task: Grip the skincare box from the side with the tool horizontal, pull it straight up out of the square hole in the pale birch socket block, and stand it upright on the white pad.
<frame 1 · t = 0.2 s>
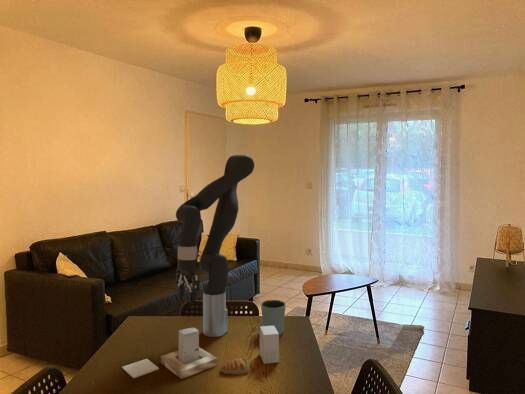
hand: (187, 298, 158), 17 cm above the table, tool pointing down, fingers open, 8 cm apart
skincare box: (188, 364, 141), resting in socket block
small box: (269, 358, 146), on the table
grey green cup: (273, 332, 169), on the table
white pad: (140, 368, 138), on the table
pastry: (236, 371, 138), on the table
socket block: (188, 364, 141), on the table
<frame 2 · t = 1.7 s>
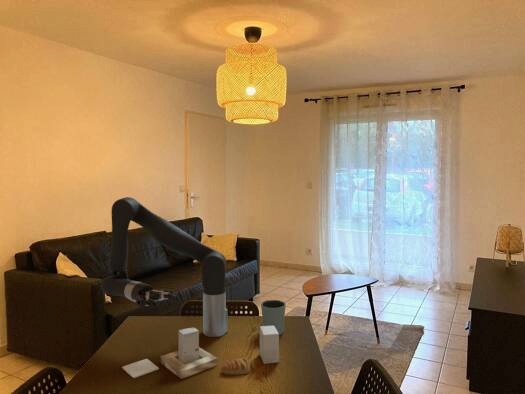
hand: (165, 301, 147), 20 cm above the table, tool horizontal, fingers open, 8 cm apart
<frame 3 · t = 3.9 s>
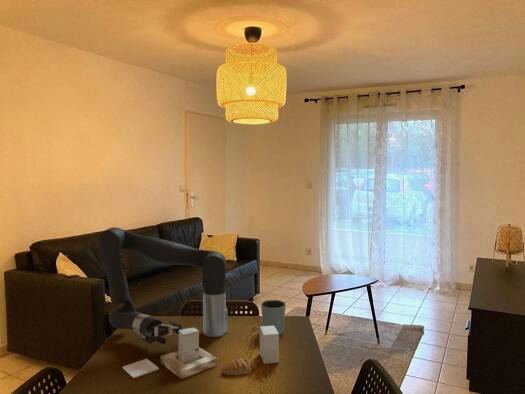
hand: (174, 337, 145), 8 cm above the table, tool horizontal, fingers open, 8 cm apart
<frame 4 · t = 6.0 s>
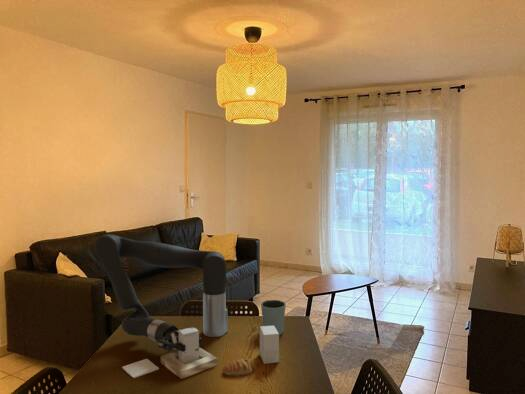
hand: (193, 344, 139), 8 cm above the table, tool horizontal, fingers closed on skincare box, 7 cm apart
skincare box: (188, 364, 141), resting in socket block, touching gripper
everything else where it was.
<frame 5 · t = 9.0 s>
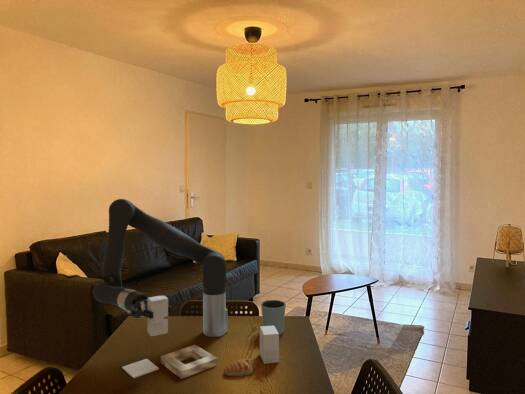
hand: (161, 312, 136), 20 cm above the table, tool horizontal, fingers closed on skincare box, 7 cm apart
skincare box: (157, 333, 138), point 12 cm above the table, touching gripper
when the fingers open (9 cm above the table, at t = 12.1 s): skincare box drops 1 cm, resting on white pad.
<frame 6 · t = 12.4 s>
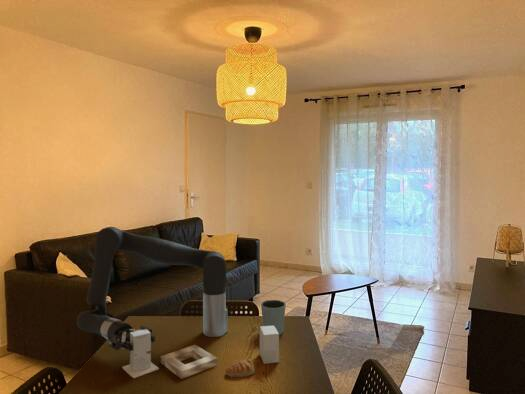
hand: (143, 343, 136), 9 cm above the table, tool horizontal, fingers open, 8 cm apart
skincare box: (140, 367, 138), resting on white pad
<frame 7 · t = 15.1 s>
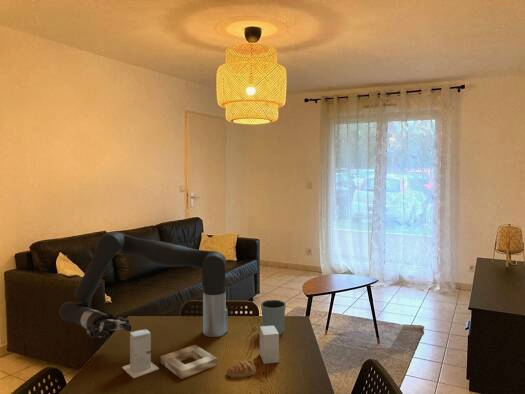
hand: (119, 332, 145), 9 cm above the table, tool horizontal, fingers open, 8 cm apart
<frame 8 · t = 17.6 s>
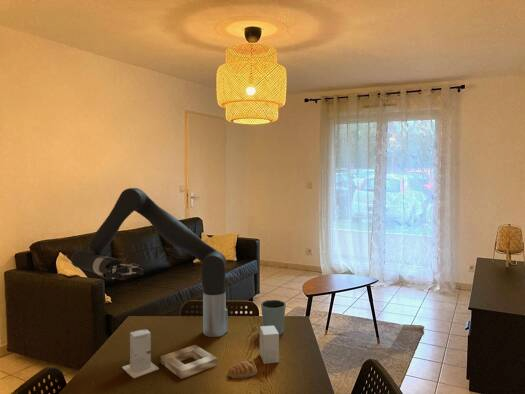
hand: (132, 274, 145), 30 cm above the table, tool horizontal, fingers open, 8 cm apart
at the end: skincare box 0.3 cm off-centre on the white pad, point 0.2 cm above the white pad's base; skincare box tilted 0°; the gripper is holding nothing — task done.
